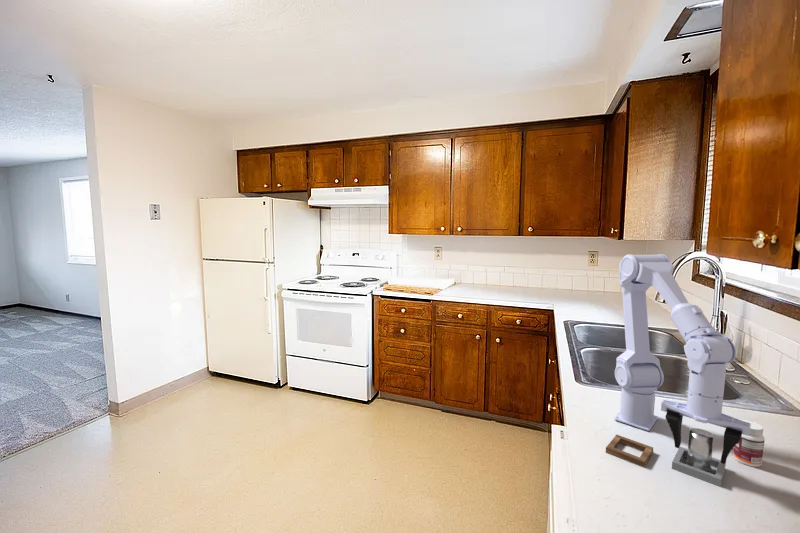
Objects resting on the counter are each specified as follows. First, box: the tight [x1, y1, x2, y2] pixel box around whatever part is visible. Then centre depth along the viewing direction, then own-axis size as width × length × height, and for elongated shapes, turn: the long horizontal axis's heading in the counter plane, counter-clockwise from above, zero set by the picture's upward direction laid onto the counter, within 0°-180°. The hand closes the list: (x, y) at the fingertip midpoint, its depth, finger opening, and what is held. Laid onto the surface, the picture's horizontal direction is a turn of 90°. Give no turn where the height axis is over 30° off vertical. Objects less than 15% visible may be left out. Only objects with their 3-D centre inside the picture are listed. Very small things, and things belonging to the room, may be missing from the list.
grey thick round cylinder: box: [686, 427, 715, 473], centre depth 80 cm, size 4×4×8 cm
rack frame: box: [671, 446, 727, 487], centre depth 81 cm, size 8×8×2 cm
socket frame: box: [605, 434, 654, 468], centre depth 87 cm, size 8×8×1 cm
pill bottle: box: [732, 419, 765, 468], centre depth 83 cm, size 5×5×8 cm
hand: (699, 453), depth 81 cm, fingers open, 7 cm apart
